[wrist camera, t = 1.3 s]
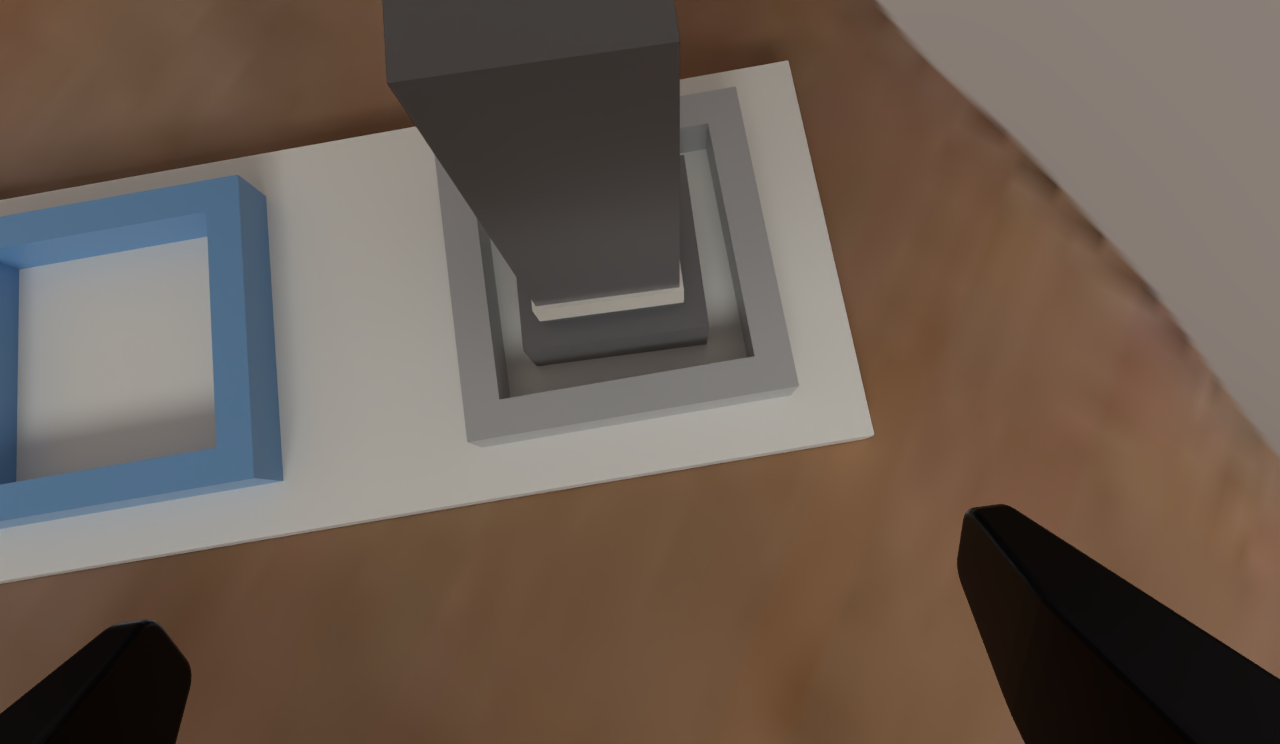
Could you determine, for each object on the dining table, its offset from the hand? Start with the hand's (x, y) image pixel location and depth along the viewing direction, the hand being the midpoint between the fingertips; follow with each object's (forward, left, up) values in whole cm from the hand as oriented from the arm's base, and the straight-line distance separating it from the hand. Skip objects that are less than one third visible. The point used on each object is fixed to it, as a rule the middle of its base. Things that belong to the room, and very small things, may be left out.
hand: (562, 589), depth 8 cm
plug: (+5, -6, -12) cm, 15 cm away
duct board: (+10, -1, -13) cm, 17 cm away
